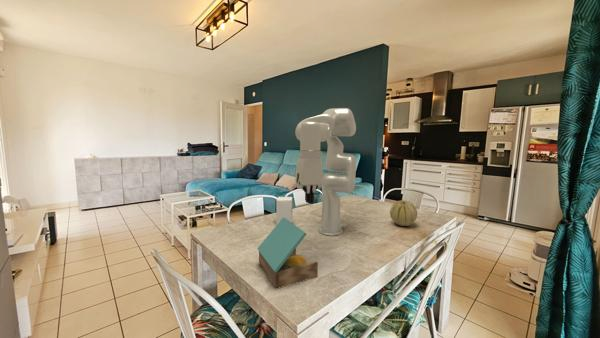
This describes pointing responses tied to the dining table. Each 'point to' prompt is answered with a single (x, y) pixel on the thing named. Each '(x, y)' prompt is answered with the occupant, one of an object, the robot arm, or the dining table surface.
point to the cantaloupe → (403, 213)
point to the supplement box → (283, 209)
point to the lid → (281, 243)
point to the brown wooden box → (289, 272)
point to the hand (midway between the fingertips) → (309, 202)
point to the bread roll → (294, 261)
